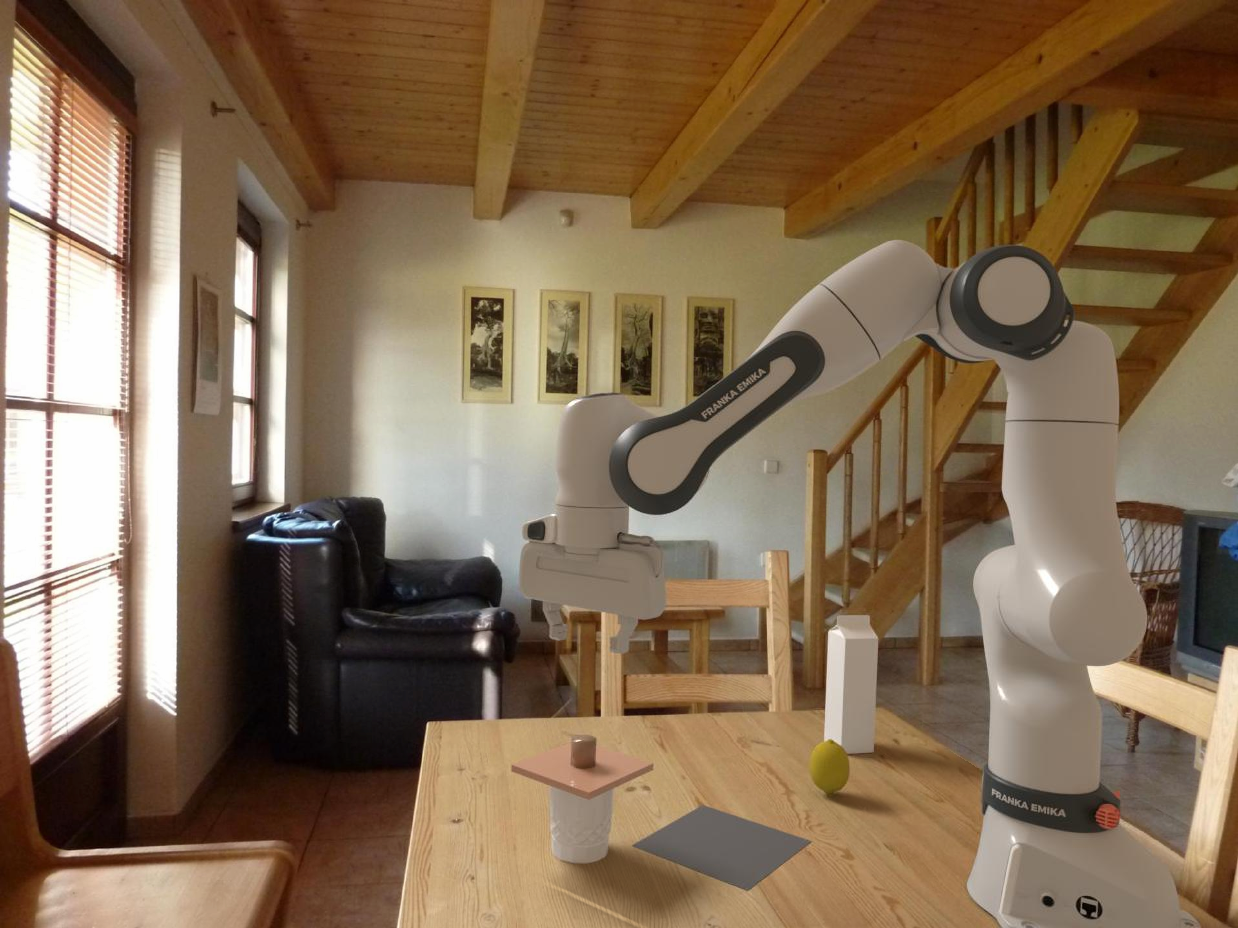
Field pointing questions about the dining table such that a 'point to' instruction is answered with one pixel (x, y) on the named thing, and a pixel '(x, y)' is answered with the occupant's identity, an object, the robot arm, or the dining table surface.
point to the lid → (582, 767)
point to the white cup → (580, 826)
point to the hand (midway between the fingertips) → (587, 645)
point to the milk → (851, 684)
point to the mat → (723, 846)
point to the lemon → (829, 766)
